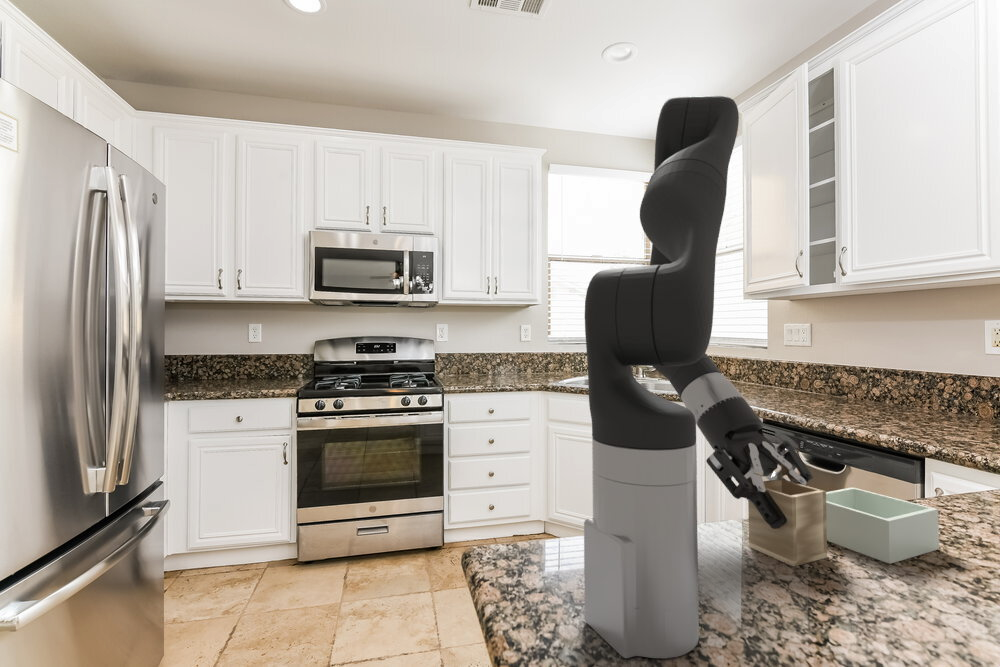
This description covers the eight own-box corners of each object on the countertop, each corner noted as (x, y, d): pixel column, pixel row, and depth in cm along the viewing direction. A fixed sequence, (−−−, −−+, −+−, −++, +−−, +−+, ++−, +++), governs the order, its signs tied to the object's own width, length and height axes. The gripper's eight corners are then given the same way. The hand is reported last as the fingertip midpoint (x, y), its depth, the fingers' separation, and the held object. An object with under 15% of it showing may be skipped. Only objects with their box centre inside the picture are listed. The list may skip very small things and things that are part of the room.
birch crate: (793, 566, 57) (792, 497, 57) (749, 546, 62) (748, 483, 62) (827, 557, 59) (825, 491, 59) (781, 539, 64) (780, 478, 65)
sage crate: (889, 563, 57) (888, 521, 57) (805, 532, 66) (805, 496, 67) (939, 549, 61) (938, 509, 61) (853, 521, 70) (852, 487, 70)
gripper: (695, 397, 65) (778, 515, 54) (770, 392, 71) (860, 498, 59) (667, 430, 70) (738, 545, 59) (740, 423, 75) (818, 527, 64)
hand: (799, 521), depth 59 cm, fingers closed on birch crate, 6 cm apart
